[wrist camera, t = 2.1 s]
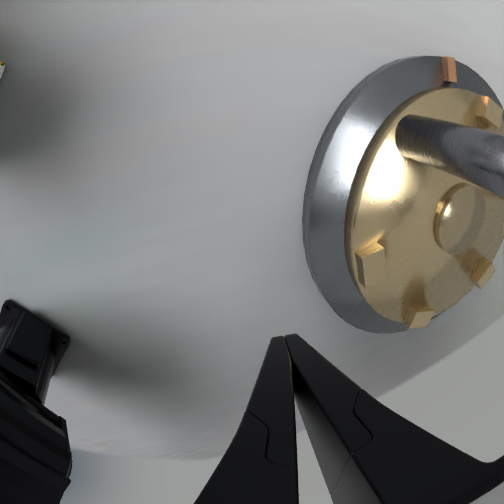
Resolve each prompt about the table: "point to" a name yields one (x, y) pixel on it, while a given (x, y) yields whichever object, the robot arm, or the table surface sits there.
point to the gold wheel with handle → (427, 205)
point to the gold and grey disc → (345, 165)
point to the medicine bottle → (1, 68)
